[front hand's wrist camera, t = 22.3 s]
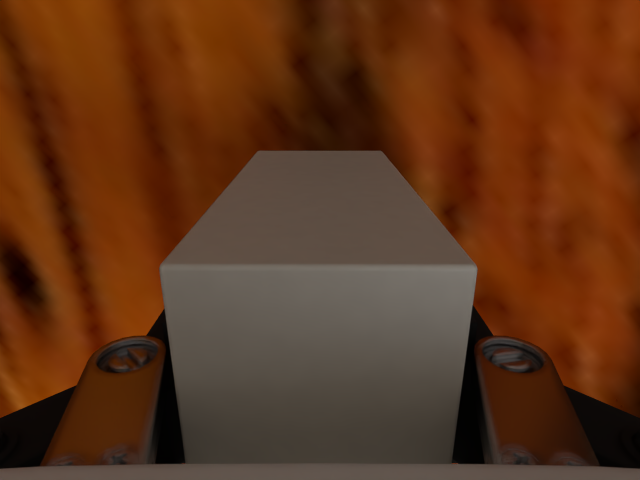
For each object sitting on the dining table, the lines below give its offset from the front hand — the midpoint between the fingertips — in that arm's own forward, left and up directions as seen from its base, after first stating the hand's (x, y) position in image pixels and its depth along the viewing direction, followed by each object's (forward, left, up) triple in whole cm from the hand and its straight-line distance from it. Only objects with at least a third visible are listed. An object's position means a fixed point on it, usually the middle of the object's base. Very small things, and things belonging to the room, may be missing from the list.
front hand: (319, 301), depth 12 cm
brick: (0, 0, -5) cm, 5 cm away
